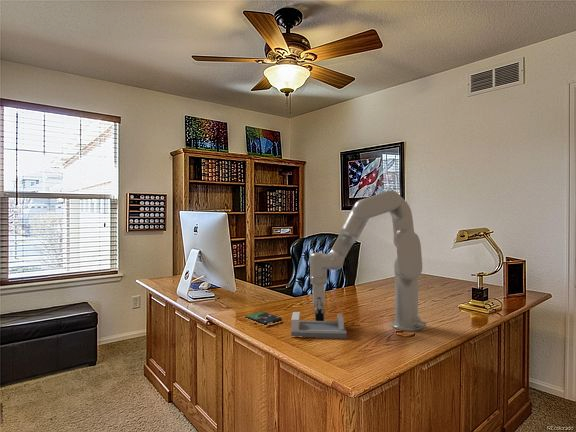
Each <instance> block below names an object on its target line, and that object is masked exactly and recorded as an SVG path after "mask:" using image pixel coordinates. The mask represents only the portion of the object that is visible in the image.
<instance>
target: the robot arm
mask: <svg viewBox="0 0 576 432" xmlns="http://www.w3.org/2000/svg"><path fill="white" fill-rule="evenodd" d="M386 213H389V214H390V216H391V221H392V232H393V244H394V246H395V248H396V255H397V256H396V258H395V260H394V265H393V267H394V268H393V269H394V310H395V311H394V316H395V317H394V320H392V321H391V325H390V326H391V327H393V329H396V330H400V331H406V332H414V331H415V332H416V331H420V330H422V329H423V328H424V329H426V328H427V322H426V321H424V320H421V317H420V316H419V277H420V276H421V274H422V272H423V257H422V256H423V255H422V245H421V239H420V237H419V235H418V234H417V233H416V232H415V228H414V221H413V220H414V219H413V211H412V209H411V207H410V204H408V202H407V201H406V200H405V199H404V198H403V197H402V196H401V195H400V194H399V193H398V192H397V191H395V190H392V189H390V190H386V191H383V192H380V193H377V194H374V195H372V196H370V197H366V198H362V199H359V200H357V201H356V202H355V203H354V205H353V206H352V208H351V210H350V212H349V214H348V216H347V218H346V219H345V221H344V222H343V225H342V227H341V229H340V231H339V234H338V236H337V238H336V240H335V242H334V244H333V245H332V247H331V249H330V251H329V253H325V252H312V253H310V254H309V273H310V274H309V277H310V279H309V280H310V282H309V283H310V285H312V307H313V308H315V307H316V321H323V308H322V307H324V306H325V295H326V293H325V292H326V291H325V285H327V284H328V270H331V271H332V270H333V271H339V270H340V269H342V267H343V266H344V262H345V258H346V257H347V255H348V253H349V252H350V250H351V248H352V246H353V245H354V244H355V243H356V242H357V240H358V239H359V237H360V235H361V234H362V232H363V230H364V229H365V227H366V226H367V224H368V221H369V219H371V218H374V217H377V216H381V215H384V214H386Z"/></svg>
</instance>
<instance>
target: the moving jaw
mask: <svg viewBox="0 0 576 432" xmlns="http://www.w3.org/2000/svg"><path fill="white" fill-rule="evenodd" d="M336 315H337V316H336V317H337V319H336V321H337V325H338V331H344V325H345V321H344V320H345V319H344V317H343V313H336Z"/></svg>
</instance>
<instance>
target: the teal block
mask: <svg viewBox="0 0 576 432" xmlns="http://www.w3.org/2000/svg"><path fill="white" fill-rule="evenodd" d="M322 308H323V321H325V308H324V306H322ZM314 321H316V306H315V307H314Z"/></svg>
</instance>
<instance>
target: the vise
mask: <svg viewBox="0 0 576 432" xmlns="http://www.w3.org/2000/svg"><path fill="white" fill-rule="evenodd" d="M290 320H291V321H290V326H291V327H290V329H291V330H290V331H291V332H290V335H291V336H302V337H315V338H314V339H347V333H348V332H347V329H346V327H345V324H344V331H338V325H337V320H336V321H335V320H334V321H333V320H324V321H315V320H301V312H300V311H292V315H291V319H290ZM291 336H290V337H291Z"/></svg>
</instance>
